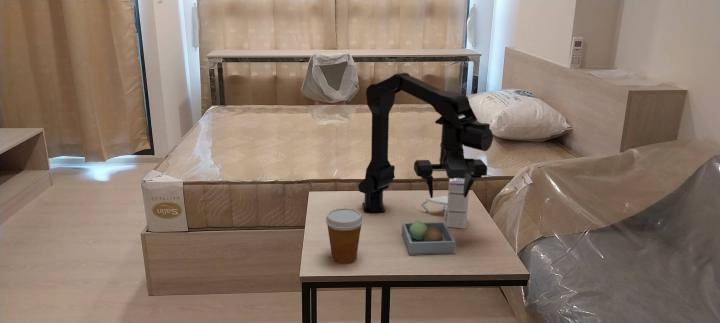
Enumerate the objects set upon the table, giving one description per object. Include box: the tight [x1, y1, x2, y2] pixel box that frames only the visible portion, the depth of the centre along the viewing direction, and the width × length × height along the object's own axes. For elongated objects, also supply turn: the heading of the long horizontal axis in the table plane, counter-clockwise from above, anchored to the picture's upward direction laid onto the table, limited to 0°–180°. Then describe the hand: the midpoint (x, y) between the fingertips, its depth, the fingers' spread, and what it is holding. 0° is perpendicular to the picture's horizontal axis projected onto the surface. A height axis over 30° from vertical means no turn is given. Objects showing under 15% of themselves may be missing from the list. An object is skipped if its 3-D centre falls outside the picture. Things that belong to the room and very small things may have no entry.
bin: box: [401, 221, 457, 256], centre depth 144 cm, size 12×12×4 cm
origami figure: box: [420, 195, 448, 219], centre depth 163 cm, size 12×8×5 cm
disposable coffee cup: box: [324, 207, 364, 264], centre depth 135 cm, size 10×10×12 cm
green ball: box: [409, 221, 427, 240], centre depth 146 cm, size 5×5×5 cm
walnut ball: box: [424, 228, 442, 242], centre depth 142 cm, size 5×5×5 cm
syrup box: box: [446, 178, 470, 229], centre depth 155 cm, size 6×6×14 cm
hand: (448, 197), depth 145 cm, fingers open, 9 cm apart
